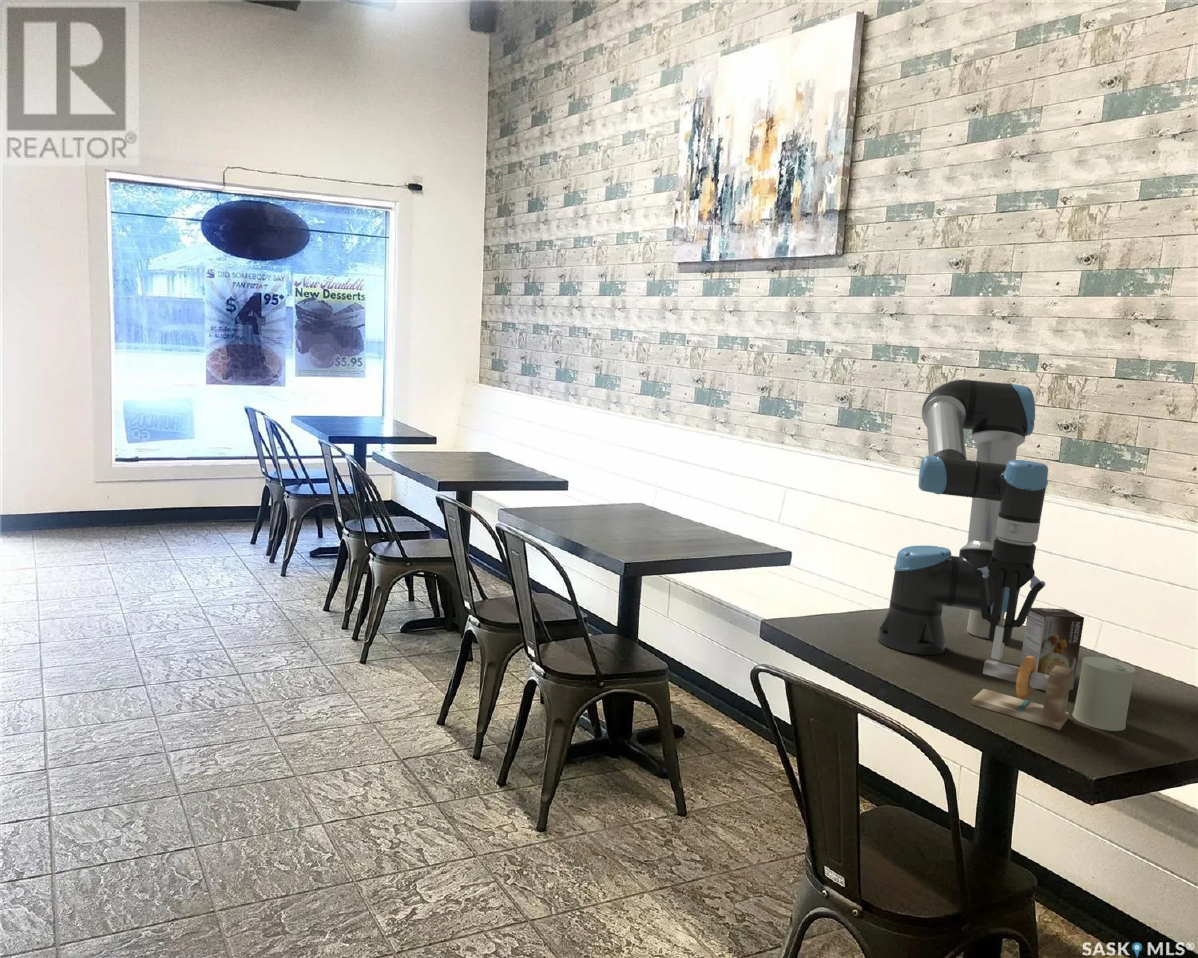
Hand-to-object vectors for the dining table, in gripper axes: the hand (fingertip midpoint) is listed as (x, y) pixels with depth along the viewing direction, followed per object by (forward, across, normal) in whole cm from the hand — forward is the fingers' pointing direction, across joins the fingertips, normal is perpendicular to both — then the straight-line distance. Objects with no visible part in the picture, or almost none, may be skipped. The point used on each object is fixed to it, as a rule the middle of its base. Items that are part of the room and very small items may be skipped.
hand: (996, 657), depth 188 cm
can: (+10, +19, +7) cm, 22 cm away
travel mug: (+10, -14, +50) cm, 53 cm away
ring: (+6, +6, 0) cm, 9 cm away
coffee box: (+10, +6, +22) cm, 24 cm away
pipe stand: (+9, +6, 0) cm, 11 cm away
